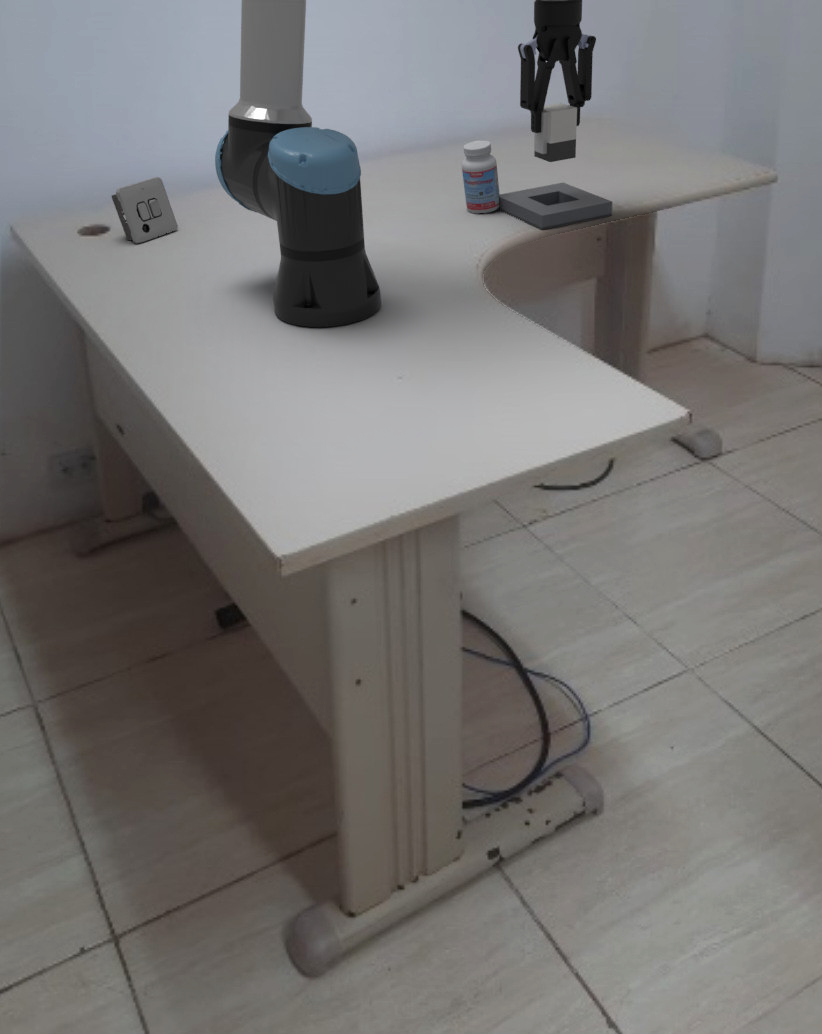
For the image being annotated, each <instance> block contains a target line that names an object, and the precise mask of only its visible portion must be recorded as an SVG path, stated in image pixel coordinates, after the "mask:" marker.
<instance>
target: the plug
mask: <svg viewBox="0 0 822 1034" xmlns="http://www.w3.org/2000/svg"><path fill="white" fill-rule="evenodd" d="M543 111H544V112H547V153H546V154H541V153H539V152H536V151H534V150H533V151H534V152H533V153H534V157H535V158H538V159H541V160H542V161H546V162H549V163H553V162H559V161H565V160H570V159H576V154H577V153H576V151H577V127H578V126H577V107H573V106H570V104H567V103H564V102H563V103H562V102H558V103H552V104H545V105H544V109H543Z"/></svg>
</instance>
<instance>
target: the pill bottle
mask: <svg viewBox="0 0 822 1034" xmlns="http://www.w3.org/2000/svg"><path fill="white" fill-rule="evenodd" d="M491 145H492V144H491V141H488V140H475V141H470V142H467V143H466V144H464V146H463V154H464V156H465V158H464V159H463V161H462V163H461V172H462V180H463V188H464V196H465V205H466V210H467V211H468V212H469V213H471V212H472V213H471V214H475V213H484V214H489V213H492V212H494V211H498V210H497V209H498V208H499V196H500V186H499V175H498V173H499V172H498V166H497V165H498V164H497V160H496V157H495V156H494V155H492V154H491V153H492V146H491Z"/></svg>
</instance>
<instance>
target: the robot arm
mask: <svg viewBox="0 0 822 1034" xmlns="http://www.w3.org/2000/svg"><path fill="white" fill-rule="evenodd" d="M240 8H241V10H240V11H241V13H240V14H241V15H240V16H241V17H240V18H241V20H240V22H241V23H240V71H239V72H240V73H239V75H240V77H239V80H240V81H239V82H240V83H239V99H238V102H237V103H236V104H235V105H234V106H233V107H232V108H231V109H229V111H228V120H227V121H228V124H227V125H228V127H227V130H226V131H225V134H224V135H223V137H221V138H220V139H219V141H218V144H217V146H216V151H215V154H214V155H215V156H214V163H215V166H214V167H215V172H216V176H217V179H218V181H219V183H220V185H221V187H222V188H223V190H224V191H225V192H226V194H227V195H228V196H229V197H230V198H231V199H233V200H234V201H235V202H236V203H238V204H239V205H240V206H241V207H243V208H245V210H248V211H251V212H254V213H258V214H260V215H262V216H265V217H266V218H268V219H271V220H274V221H276V226H277V233H278V243H279V250H280V251H279V252H280V261H279V266H278V267H279V268H278V272H277V276H276V279H275V280H276V281H275V286H274V291H273V295H272V296H273V297H272V301H273V308H274V314H275V315H276V317H277V318H279V320H281V321H283V322H285V323H288V324H291V325H295V326H301V327H309V328H310V327H312V328H313V327H314V328H316V327H318V328H321V327H322V328H324V327H337V326H343V325H349V324H353V323H356V322H360V321H362V320H365V319H367V318H369V317H371V316H373V315H374V314H376V313H377V312H378V311H379V310H380V308H381V306H382V295H381V294H382V293H381V288H380V285H379V282H378V280H377V277H376V275H375V272H374V270H373V267H372V265H371V262H370V260H369V257H368V255H367V252H366V245H365V232H364V231H365V229H364V215H363V201H362V186H361V184H362V183H361V176H362V170H361V164H360V159H359V154H358V149H357V145H356V144H355V142H354V141H353V140H352V138H351V137H349V136H348V135H346V134H345V133H343V132H340V131H338V130H335V129H334V130H333V129H330V128H320V127H316V126H313V117H311V115H310V114H309V112H308V111H307V110H306V109H305V107H304V106H303V84H304V83H303V82H304V57H305V40H306V39H305V37H306V36H305V35H306V14H307V0H241V7H240ZM582 15H583V0H534V2H533V23H534V27H535V29H534V34H533V36H532V39H531V40H529V41H528V42H526V43H523V42H521V43H519V44H518V46H517V51H518V55H519V57H520V83H519V84H520V88H519V90H520V93H519V95H520V96H519V99H520V100H519V106H520V108H521V109H523V110H524V109H525V110H528V111H529V112H530V130H531V132H532V133H533V134H534V137H533V138H534V145H533V146H534V150H533V151H536V152H539V153H541V154H546V153H547V112H544V111H543V109H544V105H546V99H547V94H548V91H549V85H550V81H551V77H552V71H553V69H554V68H555V67H556V64H557V63H556V62H559V64H560V66H561V70H562V76H563V81H564V86H565V87H564V88H565V91H566V97H567V103H568V105H570V106H573V107H577V127H579V126H580V123H581V108H583V107H584V106H585V104H586V102H588V101H591V99H592V93H593V92H592V91H593V87H592V85H593V57H594V56H593V52H594V48H595V45H596V41H597V37H596V36H594V35H589V34H584V33H583V31H582V29H581V26H580V24H581V22H582V19H583V18H582V17H583V16H582ZM577 48H578V51H577V54H576V49H577ZM536 50H537V51H536ZM537 52H538V56H537V60H536V57H535V56H536V55H537ZM536 64H537V65H536ZM536 66H537V69H536Z"/></svg>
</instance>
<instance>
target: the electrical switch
mask: <svg viewBox="0 0 822 1034" xmlns="http://www.w3.org/2000/svg"><path fill="white" fill-rule="evenodd" d="M111 199H112V202H113V205H114V208H115V210H116V213H117V215H118V219H119V221H120V223H121V226H122V227H121V228H122V230H123V232H124V235H125V237H126V241H131V240H132V241H133V243H135V244H136V243H138V244H141V243H144V242H147V241H150V240H152V239H155V238H158V236H159V237H161V236H164V235H167V234H169V233H170V234H171V233H173V232H175V231H177V230H178V228H179V227H178V226H179V225H178V223H177V220H176V217H175V214H174V211H173V208H172V205H171V203H170V199H169V197H168V194H167V191H166V188H165V185H164V182H163V179H162V178H161V177H159V176H157V177H156V176H155V177H152V178H149V179H146V180H142V181H139V182H135V183H132V184H131V183H130V184H129V185H125V186H121V187H119V188H116V190H115V194H113V195H112V194H111ZM172 231H173V232H172ZM166 233H167V234H166Z"/></svg>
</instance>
